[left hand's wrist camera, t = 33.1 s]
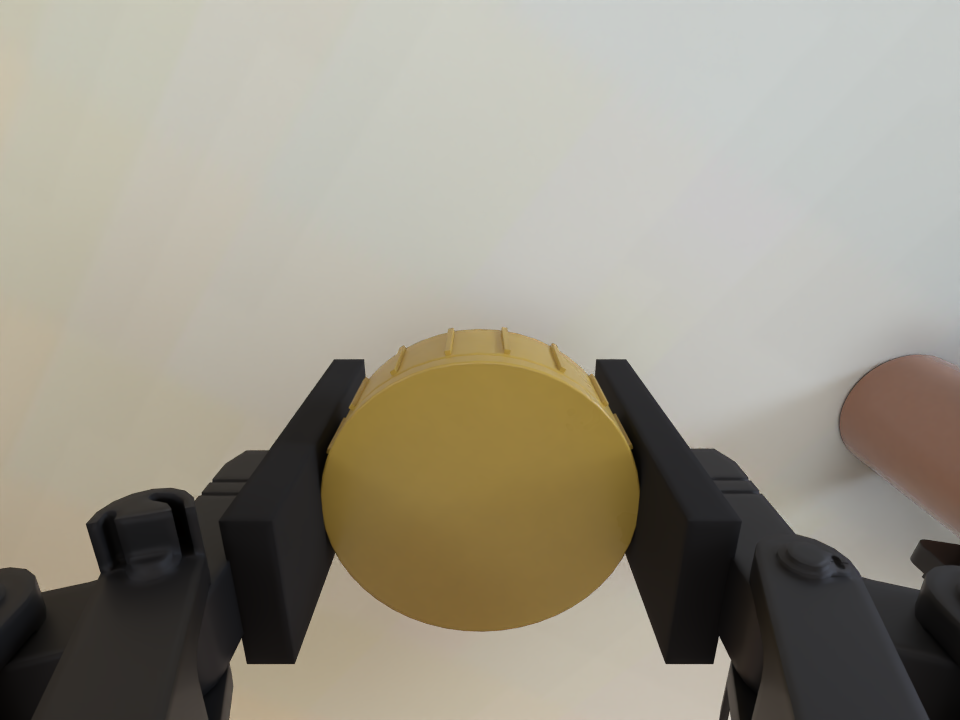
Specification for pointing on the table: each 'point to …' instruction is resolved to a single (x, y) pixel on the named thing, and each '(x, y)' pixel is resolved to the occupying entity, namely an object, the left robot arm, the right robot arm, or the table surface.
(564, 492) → the lid
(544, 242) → the table surface
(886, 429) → the brown cylinder
